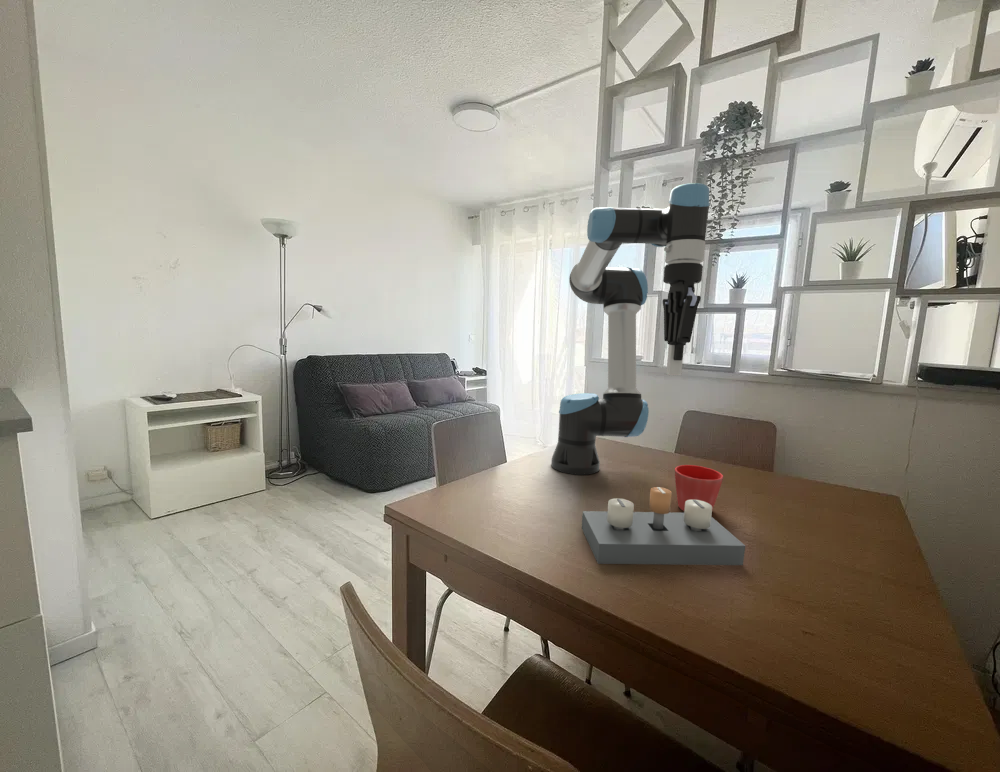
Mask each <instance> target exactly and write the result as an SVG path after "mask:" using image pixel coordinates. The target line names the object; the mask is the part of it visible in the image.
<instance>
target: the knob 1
mask: <svg viewBox="0 0 1000 772" xmlns="http://www.w3.org/2000/svg"><path fill="white" fill-rule="evenodd" d="M607 503H608V504H607V511H608V514H607V522H608V523H609V524H611V525H613V526H614V530H624V528H627V527H631V526H632V523H633V512H634V510H635V509H634V507H635V506H634V503H633V501H630V500H628V499H625V498H610V499H609V500H608V502H607Z"/></svg>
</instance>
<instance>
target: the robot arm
mask: <svg viewBox="0 0 1000 772" xmlns="http://www.w3.org/2000/svg"><path fill="white" fill-rule="evenodd" d="M668 205H669V206H668V207H667V208H631V207H628V208H627V207H612V206H606V207H595V208H593V209H591V211H590V213H589V214H588V219H587V226H586V227H587V230H586V231H587V232H586V233H587V234H586V235H587V239H588V243H587V245H586V247H585V249H584V251H583V253H582V255H581V258H580V259H579V262H577V263H576V264H575V265H574V266H573V268H572V270H571V271H570V274H569V277H568V279H569V287H570V289H571V290H572V292H573V294H575V297H577V298H578V299H580V300H581V301H583V302H585V303H588V304H591V305H592V304H593V305H602V306H603V312H604V313H605V314H606V315H607V316H608V322H607V323H608V325H607V329H608V330H607V334H608V335H607V342H608V343H607V345H608V346H607V372H608V373H607V389H606V390H605V391H604V392H603V393H602V398H599V395H598V394H597V393H591V392H590V393H587V392H581V393H573V394H568V395H565V396H564V397H562V398H561V400H560V404H559V410H558V414H559V415H558V416H559V417H558V418H559V419H558V433H557V434H558V435H557V436H558V437H557V438H558V439H557V444H556V446H555V448H554V452H553V454H552V457H551V467H552V469H554V470H556V471H559V472H560V473H563V474H564V473H565V474H568V475H569V474H571V475H577V476H580V475H593V474H596V473H597V472H599V471H600V465H601V464H600V458H599V454H598V450H597V447H596V437H622V438H623V437H624V438H628V437H630V438H631V437H633V438H634V437H635V438H636V437H639V436H640V435H642V434H643V433H644V431H645V429H646V428H647V423H648V420H649V412H650V410H649V404H648V401H646V399H642V392H640V390H638V388H637V314H638V313H639V312H640V310H641V309H642V306H643V305H645V303H646V302H647V299H648V293H649V288H648V286H649V285H648V280H647V279H648V278H647V276H646V274H645V272H644V271H643V269H641V268H634V267H629V266H628V267H612V266H611V267H608V266H609V264H610V263H611V262H612V259H613V258H614V256H615V255H616V253H617V251H618V250H619V248H620V247H621V246H622V244H649V245H652V246H654V247H656V248H662V247H663V250H664V252H665V256H664V257H665V258H664V263H666V265H665V266H664V267H663V269H664V270H663V279H662V282H663V283H665V284H669V285H670V286H669V289H668V292H667V298H663V299H662V306H663V307H662V308H663V339H664V342H667V345H668V347H667V348H668V349H667V350H668V351H667V360H666V373H665V375H667V376H680V377H681V376H682V373H683V372H682V371H683V362H684V360H683V359H684V351H685V350H684V349H685V346H686V344H687V343H691V339H692V335H693V330H694V325H695V322H696V321H695V320H696V316H697V311H698V307H699V304H700V303H701V300H702V299H701V298H702V296H701V295H697V294H695V291H696V288H695V284H696V285H697V284H699V283H701V282H702V280H703V269H704V266H703V264H702V263H703V262H704V261H705V250H706V238H707V237H706V236H707V228H708V227H707V226H708V218H709V209H710V205H711V204H710V188H709V186H708V185H707V184H705V183H700V182H690V183H683V184H680V185H677V186H674V188H672V189H671V191H670V195H669V200H668Z"/></svg>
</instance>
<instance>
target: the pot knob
mask: <svg viewBox="0 0 1000 772" xmlns="http://www.w3.org/2000/svg"><path fill="white" fill-rule="evenodd" d="M649 492H650V493H649V503H648V506H649V507H648V509H649V510H650V512H654V517H653V527H654V528H655V529H663V523H664V514H668V513H669V512H671V503H672V493H673V492H672V491H671V490H670V489H668V488H665V487H660V486H656V487H655V486H654V487H651V488H650V491H649Z"/></svg>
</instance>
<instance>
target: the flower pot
mask: <svg viewBox="0 0 1000 772" xmlns="http://www.w3.org/2000/svg"><path fill="white" fill-rule="evenodd" d="M723 480H724V475H723V474H722V473H721V472H720V471H717V470H715V469H713V468H709V467H705V466H701V465H695V464H681V465H677V466H676V467H675V468H674V481H675V491H676V498H677V506H678V507H679V509H680V510H681V511H683V512H684V510H685V501H687V500H700V501H704V502H707V503H709V504H710V505H711V506H712V511H713V509H714V508H715V504H716V502H717V500H718V496H719V493H720V490H721V486H722V483H723Z"/></svg>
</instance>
